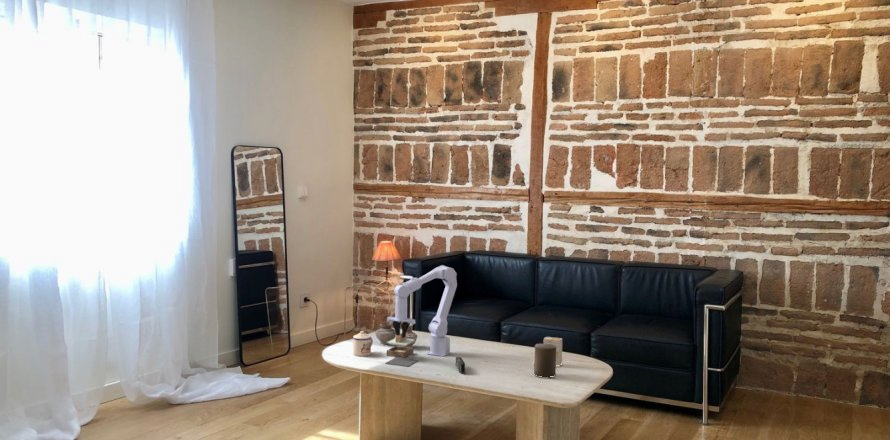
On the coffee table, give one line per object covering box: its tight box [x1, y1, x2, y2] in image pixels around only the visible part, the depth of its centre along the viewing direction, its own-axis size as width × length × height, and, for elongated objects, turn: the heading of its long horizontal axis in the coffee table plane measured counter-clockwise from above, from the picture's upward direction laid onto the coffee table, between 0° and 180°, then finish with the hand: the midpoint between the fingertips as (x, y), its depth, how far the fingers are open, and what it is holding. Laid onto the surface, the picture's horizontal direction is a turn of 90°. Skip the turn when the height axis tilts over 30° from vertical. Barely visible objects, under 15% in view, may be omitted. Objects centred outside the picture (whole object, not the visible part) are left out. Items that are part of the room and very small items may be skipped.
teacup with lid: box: [352, 330, 374, 357], centre depth 371 cm, size 12×9×12 cm
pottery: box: [374, 321, 418, 349], centre depth 389 cm, size 11×25×12 cm, turn 57°
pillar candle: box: [533, 343, 557, 377], centre depth 338 cm, size 10×10×15 cm
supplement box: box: [543, 336, 563, 365], centre depth 355 cm, size 8×5×13 cm, turn 65°
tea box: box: [386, 345, 414, 358], centre depth 371 cm, size 10×10×3 cm
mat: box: [385, 357, 420, 368], centre depth 357 cm, size 12×12×1 cm
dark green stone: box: [455, 356, 467, 375], centre depth 344 cm, size 5×3×15 cm
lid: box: [387, 332, 415, 347], centre depth 365 cm, size 10×10×4 cm
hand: (400, 337), depth 364 cm, fingers closed on lid, 2 cm apart
